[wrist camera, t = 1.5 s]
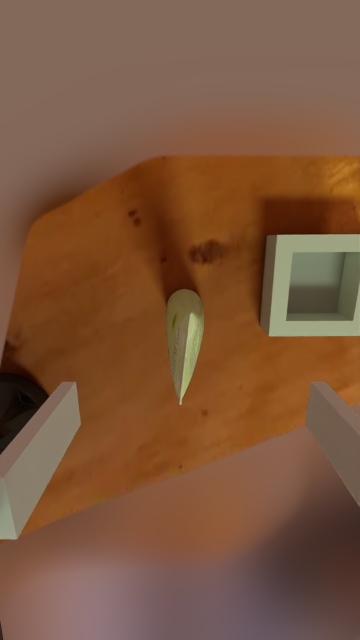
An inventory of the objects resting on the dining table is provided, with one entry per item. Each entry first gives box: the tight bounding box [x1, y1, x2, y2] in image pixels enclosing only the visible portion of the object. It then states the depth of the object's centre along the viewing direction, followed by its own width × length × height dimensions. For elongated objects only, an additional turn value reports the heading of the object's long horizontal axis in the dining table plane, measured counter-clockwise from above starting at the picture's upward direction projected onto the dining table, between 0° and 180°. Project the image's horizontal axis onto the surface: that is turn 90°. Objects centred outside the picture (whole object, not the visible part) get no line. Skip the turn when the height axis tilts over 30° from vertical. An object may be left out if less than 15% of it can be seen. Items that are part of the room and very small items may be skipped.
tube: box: [166, 289, 204, 405], centre depth 31 cm, size 6×5×20 cm
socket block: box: [260, 234, 360, 336], centre depth 37 cm, size 12×12×4 cm
